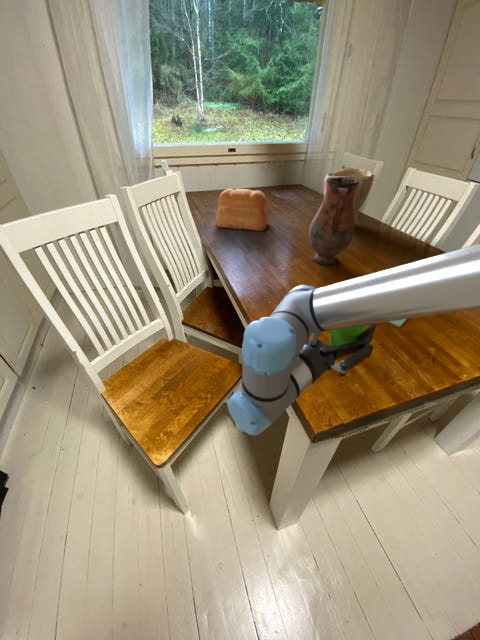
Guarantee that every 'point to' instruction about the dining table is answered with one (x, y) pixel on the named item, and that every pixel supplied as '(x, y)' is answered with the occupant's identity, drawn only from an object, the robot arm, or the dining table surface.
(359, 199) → the tan flared vase
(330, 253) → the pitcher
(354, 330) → the cup
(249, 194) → the bread
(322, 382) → the dining table surface
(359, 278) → the robot arm
